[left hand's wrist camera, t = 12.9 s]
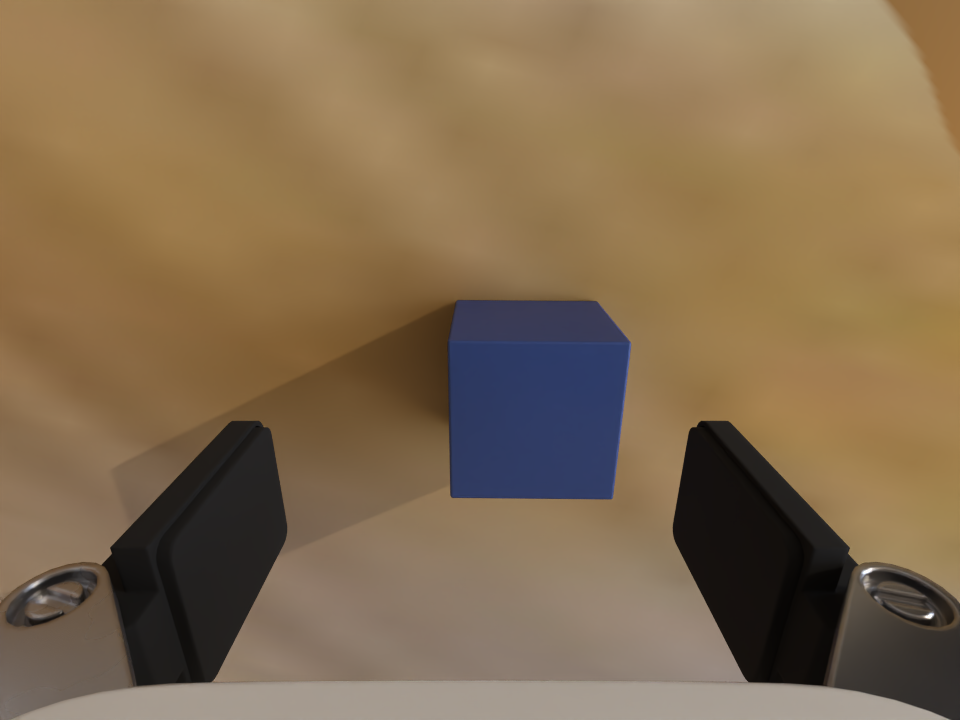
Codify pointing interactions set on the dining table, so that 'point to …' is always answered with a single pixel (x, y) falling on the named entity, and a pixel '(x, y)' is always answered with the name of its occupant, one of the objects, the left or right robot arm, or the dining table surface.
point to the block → (535, 399)
